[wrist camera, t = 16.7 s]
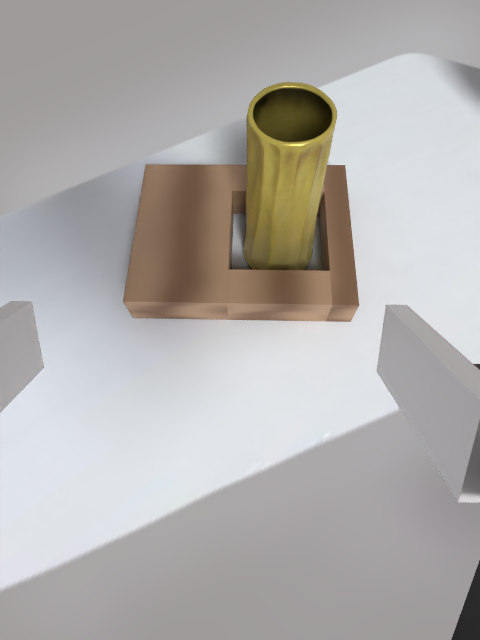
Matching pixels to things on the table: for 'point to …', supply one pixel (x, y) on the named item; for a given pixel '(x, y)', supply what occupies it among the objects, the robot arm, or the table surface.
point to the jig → (230, 252)
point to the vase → (285, 173)
